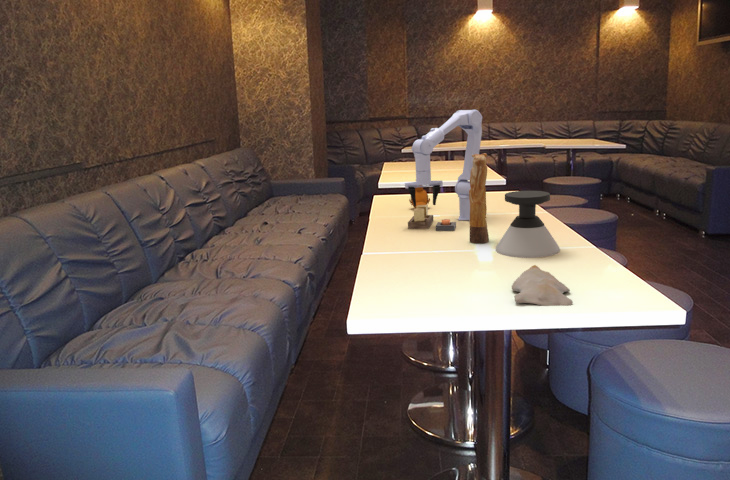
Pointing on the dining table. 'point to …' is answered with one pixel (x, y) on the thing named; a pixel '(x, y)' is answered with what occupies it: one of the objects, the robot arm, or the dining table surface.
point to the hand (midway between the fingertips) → (424, 205)
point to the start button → (445, 222)
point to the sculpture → (478, 200)
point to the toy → (420, 197)
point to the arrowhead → (540, 288)
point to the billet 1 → (424, 210)
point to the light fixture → (527, 228)
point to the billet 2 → (419, 215)
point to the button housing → (445, 226)
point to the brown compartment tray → (420, 223)
